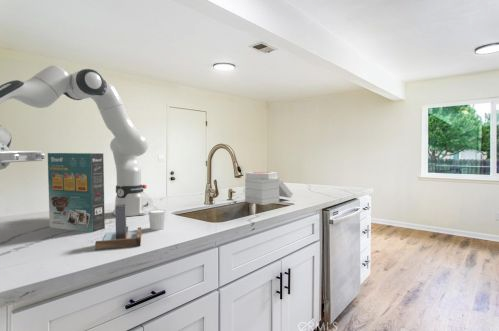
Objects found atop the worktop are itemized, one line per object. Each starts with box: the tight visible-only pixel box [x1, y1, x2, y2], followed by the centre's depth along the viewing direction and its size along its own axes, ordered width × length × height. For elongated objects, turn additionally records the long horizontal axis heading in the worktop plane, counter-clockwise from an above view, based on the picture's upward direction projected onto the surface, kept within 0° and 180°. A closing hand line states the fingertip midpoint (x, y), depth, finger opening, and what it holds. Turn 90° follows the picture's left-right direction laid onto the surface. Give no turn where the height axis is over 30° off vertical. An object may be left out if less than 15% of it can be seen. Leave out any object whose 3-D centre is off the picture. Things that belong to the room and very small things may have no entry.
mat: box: [98, 229, 143, 251], centre depth 104 cm, size 19×12×1 cm, turn 19°
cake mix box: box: [47, 152, 106, 233], centre depth 119 cm, size 22×6×30 cm, turn 72°
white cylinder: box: [148, 209, 167, 231], centre depth 119 cm, size 7×7×7 cm
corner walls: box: [94, 227, 142, 251], centre depth 102 cm, size 15×13×2 cm
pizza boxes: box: [244, 171, 293, 206], centre depth 186 cm, size 19×30×18 cm, turn 133°
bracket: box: [114, 204, 129, 239], centre depth 105 cm, size 13×3×12 cm, turn 19°
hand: (30, 156), depth 95 cm, fingers open, 8 cm apart
